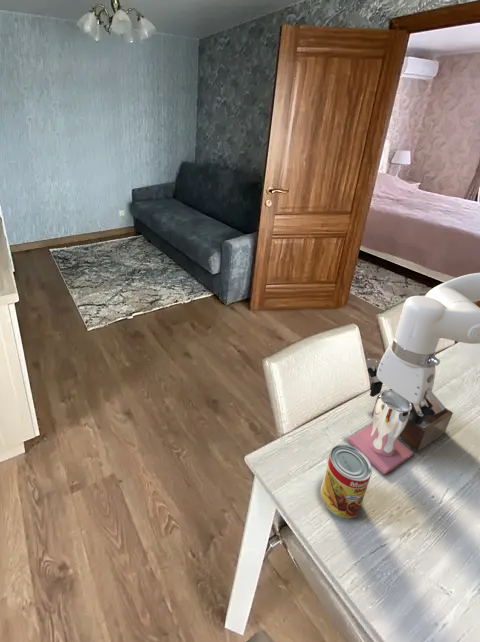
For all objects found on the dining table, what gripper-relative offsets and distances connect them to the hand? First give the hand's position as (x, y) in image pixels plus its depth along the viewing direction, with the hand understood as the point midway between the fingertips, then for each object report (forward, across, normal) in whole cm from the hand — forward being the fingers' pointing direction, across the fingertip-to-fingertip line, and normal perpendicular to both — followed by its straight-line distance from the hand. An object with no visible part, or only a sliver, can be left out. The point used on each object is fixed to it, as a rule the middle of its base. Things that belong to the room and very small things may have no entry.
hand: (393, 408), depth 82 cm
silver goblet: (+13, 0, 0) cm, 13 cm away
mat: (+14, 0, 0) cm, 14 cm away
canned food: (+14, -4, +20) cm, 24 cm away
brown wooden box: (+14, +1, -13) cm, 19 cm away
